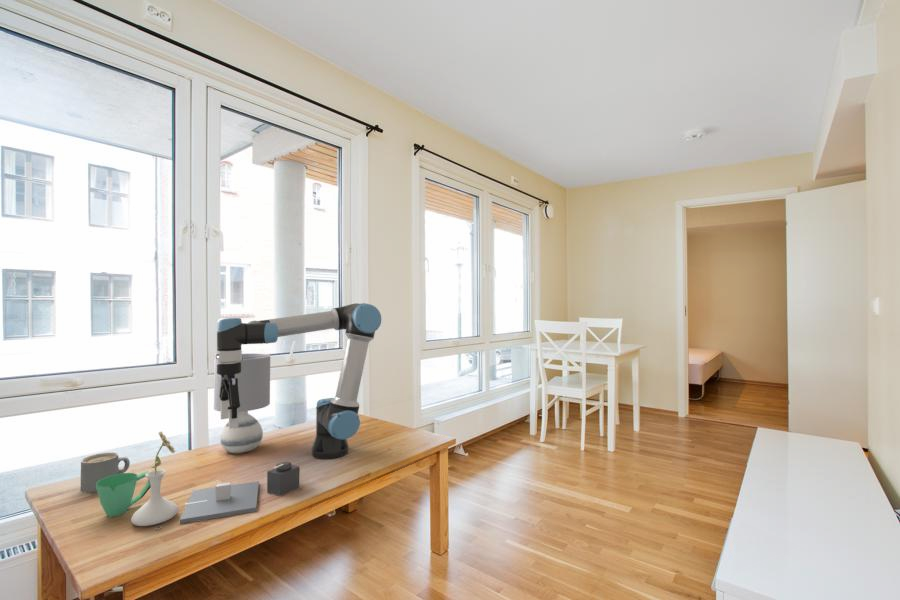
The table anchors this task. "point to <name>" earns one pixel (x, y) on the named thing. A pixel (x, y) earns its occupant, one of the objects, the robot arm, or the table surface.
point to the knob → (283, 478)
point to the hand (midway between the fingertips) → (229, 423)
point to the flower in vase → (155, 496)
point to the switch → (221, 501)
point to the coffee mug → (100, 469)
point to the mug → (119, 492)
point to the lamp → (246, 402)
